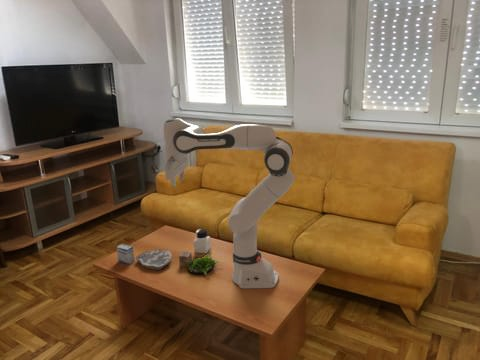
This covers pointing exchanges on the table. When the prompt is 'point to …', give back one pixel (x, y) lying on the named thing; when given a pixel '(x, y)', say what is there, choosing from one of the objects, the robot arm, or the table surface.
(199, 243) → the medicine bottle
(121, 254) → the medicine box
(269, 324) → the table surface
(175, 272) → the table surface
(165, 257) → the brain slice
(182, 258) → the walnut block
